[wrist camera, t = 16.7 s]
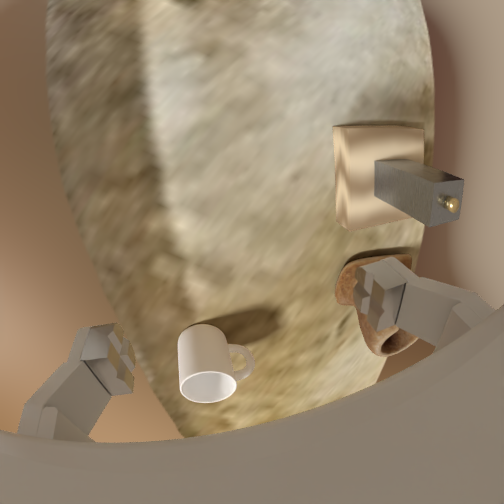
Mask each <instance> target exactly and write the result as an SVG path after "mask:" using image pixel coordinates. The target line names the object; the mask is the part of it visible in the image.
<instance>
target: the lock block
mask: <svg viewBox="0 0 504 504" xmlns="http://www.w3.org/2000/svg"><path fill="white" fill-rule="evenodd" d="M463 186H464V179H462V178H459V177H456V176H454V175H452V174H449V173H446V172H444V171H441V170H438V169H435V168H433V167H430V166H427V165H424V164H421V163H418V162H415V161H412V160H409V159H391V160H378V161H374V196H375V197H376V198H378V199H380V200H382V201H384V202H386V203H388V204H390V205H391V206H393V207H395V208H397V209H399V210H400V211H402V212H404V213H406V214H408V215H409V216H411V217H413V218H414V219H416V220H418V221H420V222H421V223H423V224H425V225H426V226H428V227H432V226H436V225H439V224H443V223H446V222H450V221H454V220H457V219H459V215H460V209H461V202H462V195H463Z"/></svg>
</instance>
